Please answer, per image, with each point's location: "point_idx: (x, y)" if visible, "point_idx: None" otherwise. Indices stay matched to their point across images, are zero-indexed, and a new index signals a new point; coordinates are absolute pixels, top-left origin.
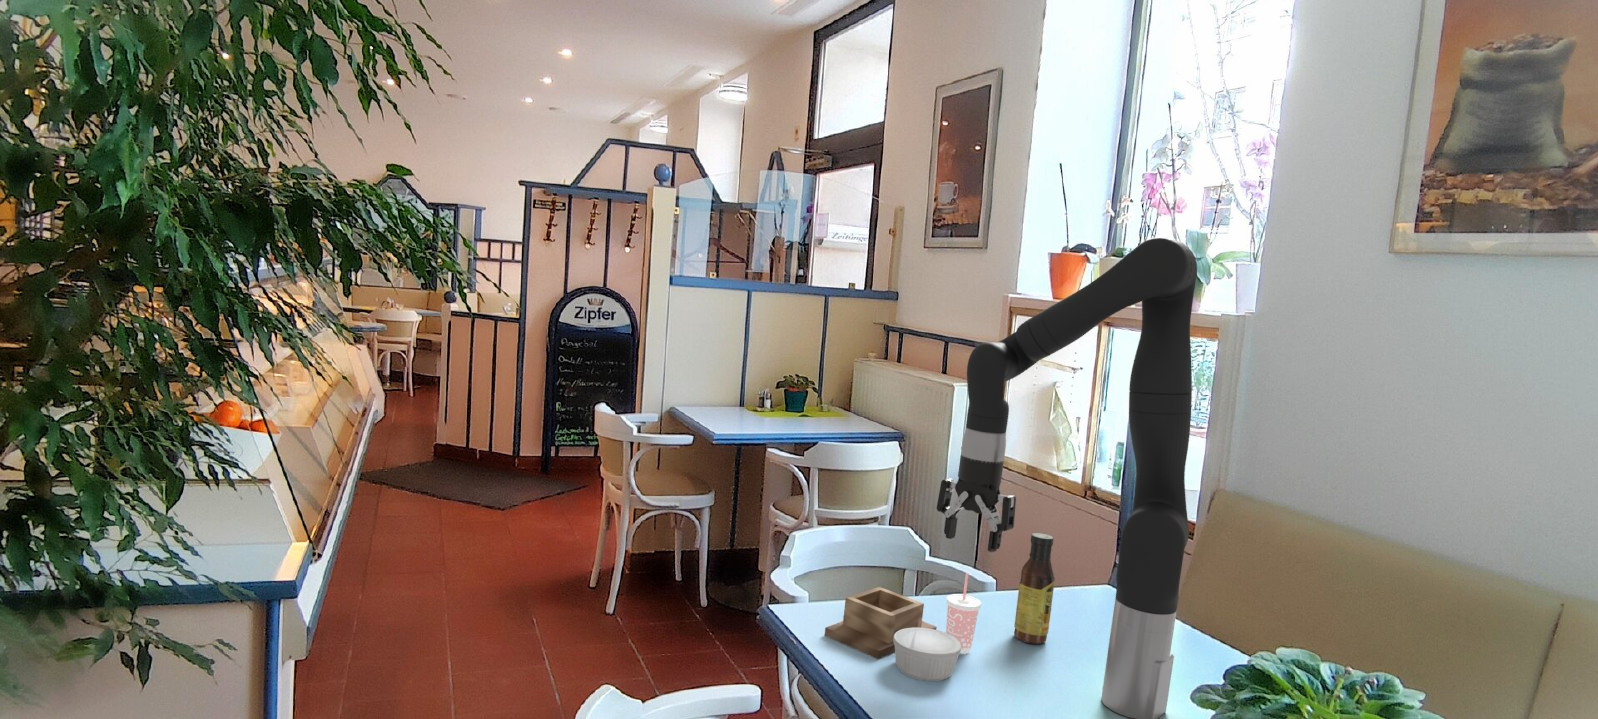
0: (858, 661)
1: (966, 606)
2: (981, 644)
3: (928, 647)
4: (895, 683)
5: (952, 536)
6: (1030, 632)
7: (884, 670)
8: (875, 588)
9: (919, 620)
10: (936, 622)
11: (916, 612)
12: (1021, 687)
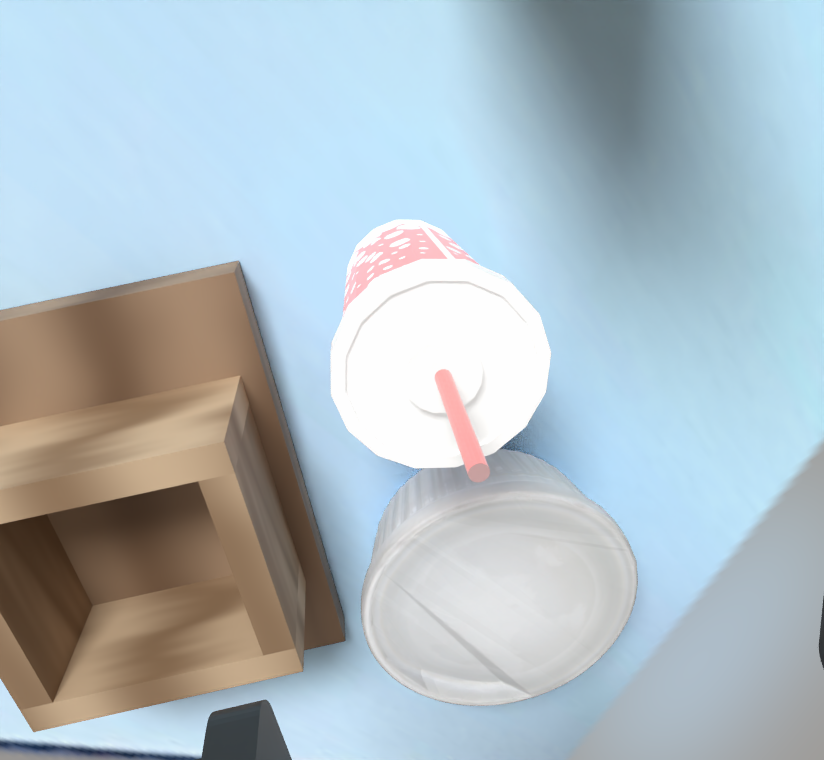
0: (327, 674)
1: (518, 429)
2: (425, 123)
3: (553, 643)
4: None
5: (279, 752)
6: None
7: None
8: None
9: (242, 421)
10: (100, 129)
11: (248, 480)
12: (775, 311)
